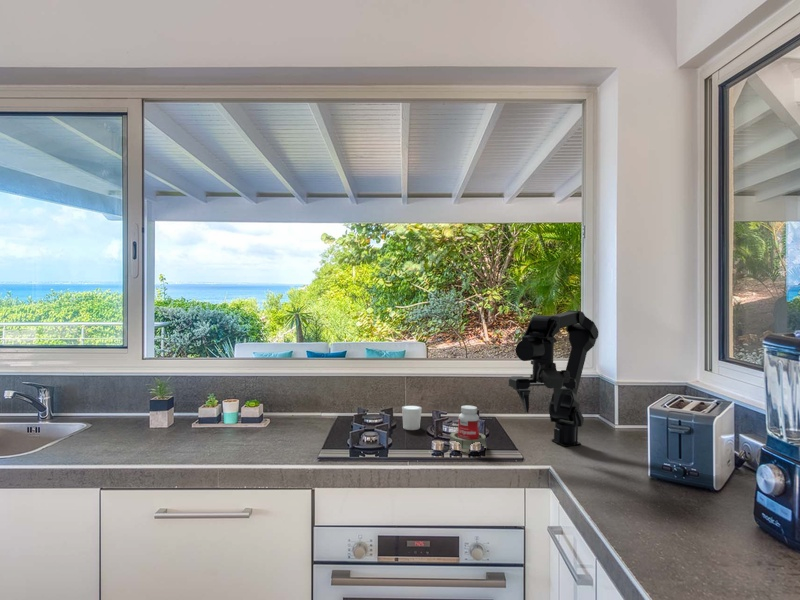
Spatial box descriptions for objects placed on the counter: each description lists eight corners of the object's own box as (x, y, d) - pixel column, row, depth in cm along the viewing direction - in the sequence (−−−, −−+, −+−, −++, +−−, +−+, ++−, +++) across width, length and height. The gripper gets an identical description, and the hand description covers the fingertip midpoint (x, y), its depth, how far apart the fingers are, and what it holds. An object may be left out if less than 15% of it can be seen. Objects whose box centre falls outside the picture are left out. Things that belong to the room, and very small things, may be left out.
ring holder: (474, 440, 155) (475, 429, 155) (493, 451, 145) (493, 439, 145) (442, 443, 151) (443, 432, 151) (459, 454, 141) (460, 442, 141)
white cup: (419, 431, 165) (420, 410, 165) (399, 429, 166) (399, 408, 166) (422, 425, 171) (423, 405, 171) (403, 424, 173) (403, 404, 173)
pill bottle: (456, 445, 146) (457, 408, 146) (459, 440, 152) (460, 404, 152) (477, 448, 144) (478, 410, 144) (479, 442, 150) (480, 405, 150)
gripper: (525, 362, 134) (524, 419, 134) (588, 362, 138) (586, 418, 138) (508, 357, 145) (507, 410, 145) (566, 357, 149) (565, 408, 149)
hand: (541, 412), depth 144 cm, fingers open, 9 cm apart
